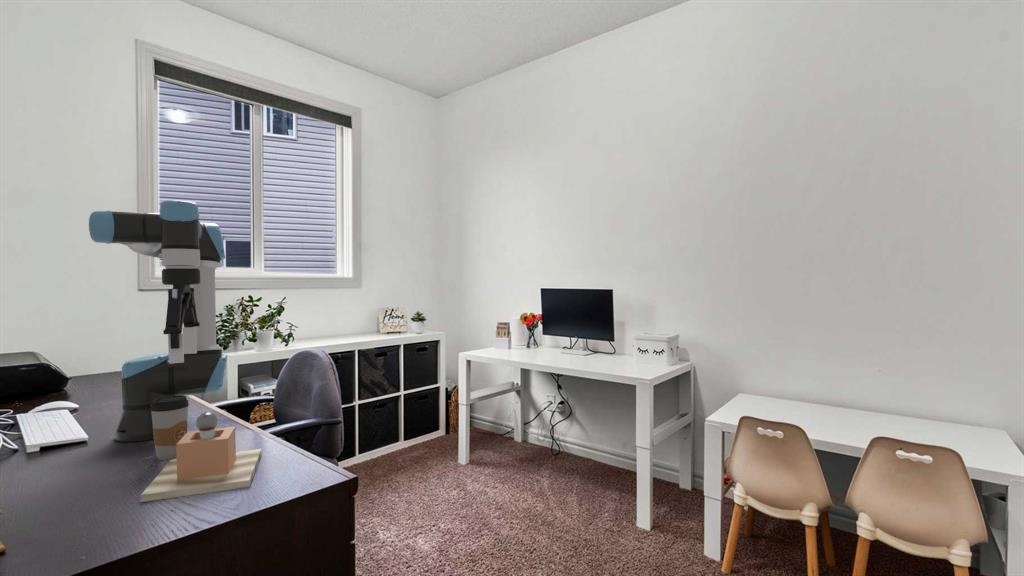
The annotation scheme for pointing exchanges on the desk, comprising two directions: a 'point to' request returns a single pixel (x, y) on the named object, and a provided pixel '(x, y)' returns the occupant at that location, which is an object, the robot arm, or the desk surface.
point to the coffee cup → (169, 424)
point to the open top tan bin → (206, 454)
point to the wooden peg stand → (237, 477)
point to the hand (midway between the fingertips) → (183, 358)
